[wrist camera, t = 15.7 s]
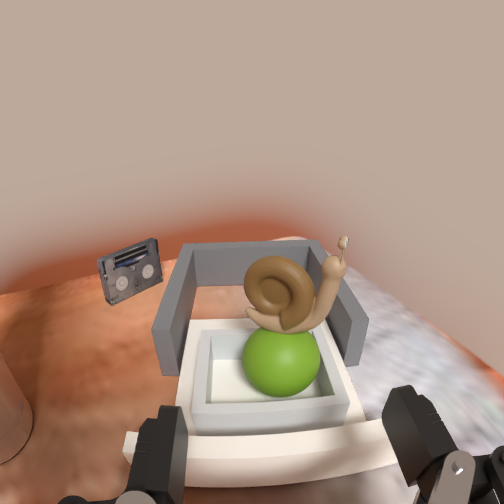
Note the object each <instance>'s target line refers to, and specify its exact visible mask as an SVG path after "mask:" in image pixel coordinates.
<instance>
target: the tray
mask: <svg viewBox="0 0 504 504" xmlns="http://www.w3.org/2000/svg"><path fill="white" fill-rule="evenodd" d="M258 328H260V327H259V326H258V325H256V324H255V323H254V322H253V321H252V320H251V319H250V318H242V319H205V320H190V323H189V328H188V334H187V339H186V344H185V350H184V355H183V361H182V366H181V372H180V378H179V383H178V389H177V395H176V401H175V406H181V408H182V411H183V415H184V418H185V422H186V425H187V429H188V451H187V462H186V474H185V486H190V487H256V486H271V485H283V484H292V483H301V482H309V481H316V480H322V479H328V478H334V477H339V476H344V475H349V474H354V473H359V472H363V471H368V470H372V469H376V468H380V467H383V466H387V465H391V464H394V463H398V460H397V458H396V455H395V453H394V450H393V448H392V446H391V443H390V441H389V438H388V436H387V434H386V431H385V429H384V426H383V423H382V418H381V419H376V420H371V421H367V419H366V417H365V414H364V412H363V409H362V407H361V404H360V402H359V399H358V397H357V394H356V392H355V389H354V387H353V384H352V382H351V379H350V377H349V374H348V372H347V370H346V367H345V365H344V362H343V360H342V358H341V355H340V353H339V350H338V348H337V346H336V343H335V341H334V339H333V336H332V334H331V331H330V329H329V327H328V325H327V322H326V320H325V319H324V320H323V322H322V323H321V324H320V325H318V326H317V327H316V328H314V329H312V330H309V332H310V333H311V335H312V336H313V337H314V339H315V340H316V342H317V344H318V347H319V351H320V367H319V370H318V373H317V375H316V377H315V379H314V380H313V382H312V383H311V384H310V385H309V386H308V387H307V388H306V389H305V390H303V391H302V392H300V393H298V394H296V395H293V396H290V397H282V398H279V397H271V396H268V395H265V394H263V393H261V392H259V391H258V390H257V389H255V388H254V387H253V386H252V385H251V384H250V382H249V381H248V380H247V378H246V376H245V374H244V371H243V367H242V353H243V349H244V346H245V344H246V342H247V340H248V338H249V337H250V336H251V335H252V334H253V333H254V332H255V331H256V330H257V329H258ZM137 437H138V432H129V431H127V434H126V438H125V442H124V446H123V450H122V453H123V454H124V456H125V458H126V459H127V461H128V462H129V464H130V465H132V460H133V455H134V452H135V446H136V443H137Z"/></svg>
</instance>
